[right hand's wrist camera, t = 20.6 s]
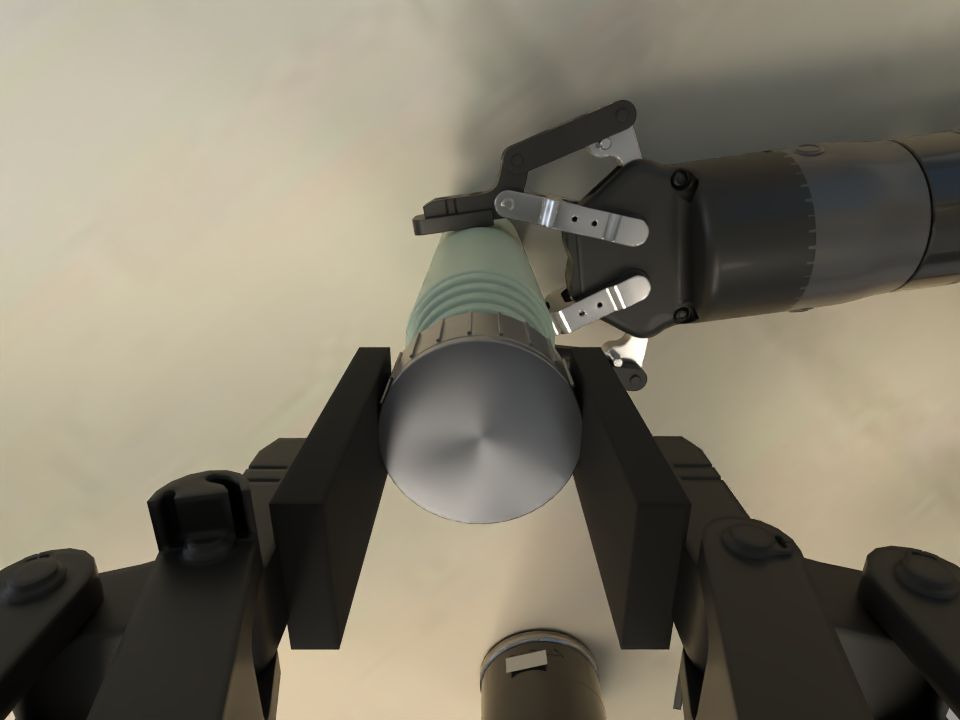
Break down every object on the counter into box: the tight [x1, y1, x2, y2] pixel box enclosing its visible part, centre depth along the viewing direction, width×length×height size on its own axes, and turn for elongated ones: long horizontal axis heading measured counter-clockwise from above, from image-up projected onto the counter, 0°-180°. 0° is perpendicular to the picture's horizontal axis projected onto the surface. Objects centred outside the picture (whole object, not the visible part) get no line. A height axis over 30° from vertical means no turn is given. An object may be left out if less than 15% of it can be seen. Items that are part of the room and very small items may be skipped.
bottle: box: [406, 218, 555, 348], centre depth 24 cm, size 5×5×22 cm
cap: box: [378, 311, 583, 524], centre depth 14 cm, size 5×5×2 cm
